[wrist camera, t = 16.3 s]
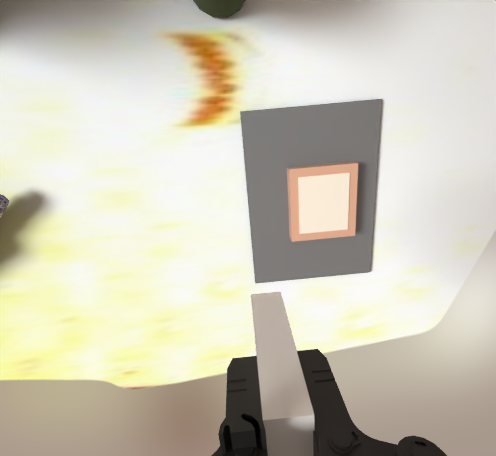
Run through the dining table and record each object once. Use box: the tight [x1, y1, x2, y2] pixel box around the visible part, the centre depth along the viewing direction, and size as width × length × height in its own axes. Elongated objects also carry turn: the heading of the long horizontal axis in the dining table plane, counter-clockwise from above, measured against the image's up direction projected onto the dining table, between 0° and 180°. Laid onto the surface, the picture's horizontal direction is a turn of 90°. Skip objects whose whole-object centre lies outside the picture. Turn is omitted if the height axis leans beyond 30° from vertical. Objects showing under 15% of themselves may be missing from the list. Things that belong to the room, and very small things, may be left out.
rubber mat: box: [240, 99, 382, 283], centre depth 36 cm, size 22×16×1 cm
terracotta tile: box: [287, 162, 358, 242], centre depth 35 cm, size 9×2×8 cm
